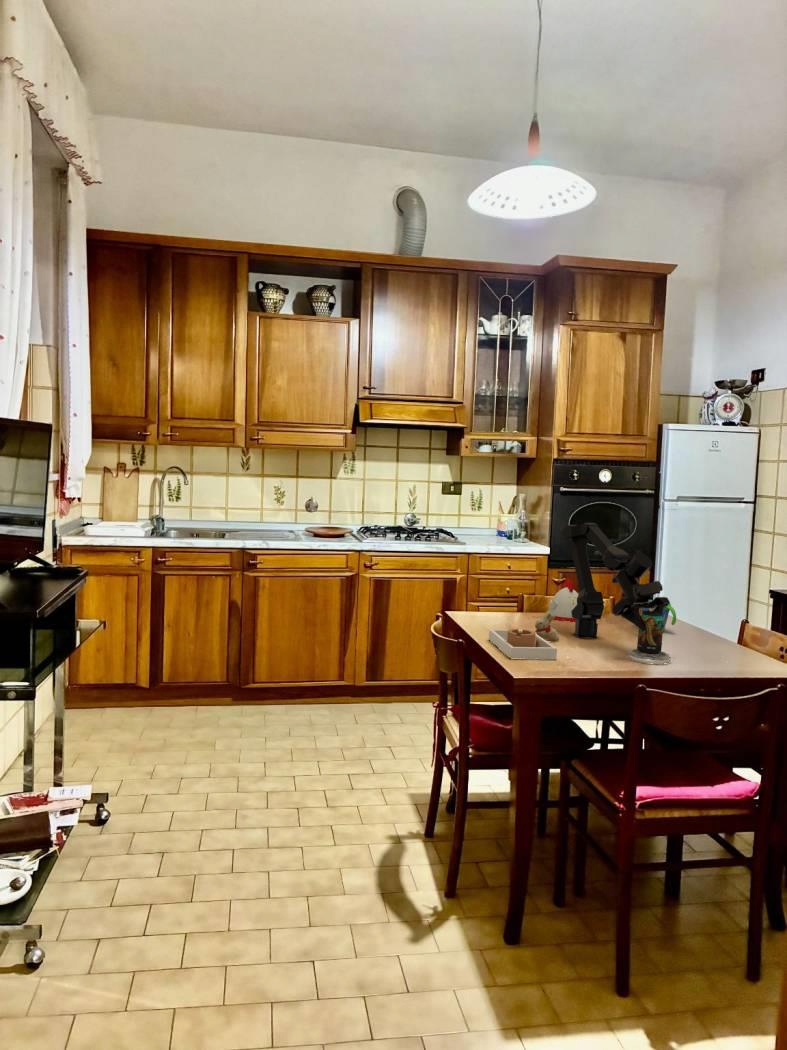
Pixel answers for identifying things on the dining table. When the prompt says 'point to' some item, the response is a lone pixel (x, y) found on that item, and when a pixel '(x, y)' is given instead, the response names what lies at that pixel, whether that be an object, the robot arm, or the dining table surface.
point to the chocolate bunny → (546, 628)
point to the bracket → (521, 638)
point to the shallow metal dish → (648, 657)
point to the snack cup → (666, 614)
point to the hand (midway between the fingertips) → (654, 629)
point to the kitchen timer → (564, 603)
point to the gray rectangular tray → (540, 651)
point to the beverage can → (651, 633)
